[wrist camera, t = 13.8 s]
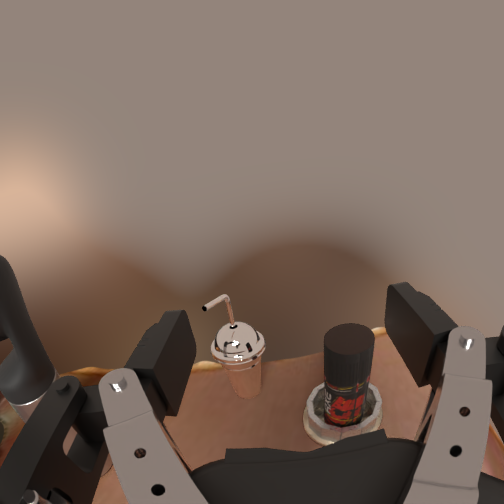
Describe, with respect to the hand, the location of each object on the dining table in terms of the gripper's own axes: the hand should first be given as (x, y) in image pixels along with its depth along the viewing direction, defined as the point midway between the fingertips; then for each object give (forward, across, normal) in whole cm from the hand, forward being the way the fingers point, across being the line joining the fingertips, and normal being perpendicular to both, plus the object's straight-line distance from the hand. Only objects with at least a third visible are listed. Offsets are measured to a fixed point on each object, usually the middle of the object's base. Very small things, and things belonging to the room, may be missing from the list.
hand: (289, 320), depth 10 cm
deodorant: (+15, -7, +29) cm, 34 cm away
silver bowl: (+16, -7, +30) cm, 34 cm away
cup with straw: (+24, +8, +30) cm, 39 cm away
